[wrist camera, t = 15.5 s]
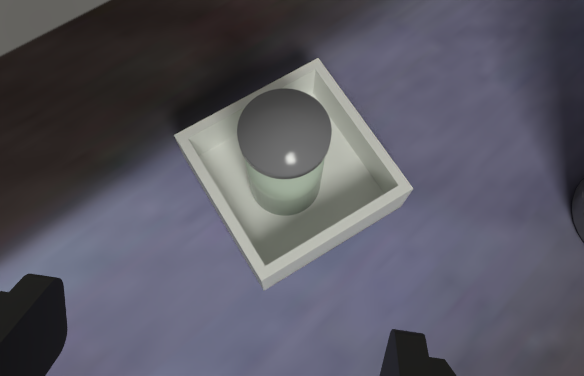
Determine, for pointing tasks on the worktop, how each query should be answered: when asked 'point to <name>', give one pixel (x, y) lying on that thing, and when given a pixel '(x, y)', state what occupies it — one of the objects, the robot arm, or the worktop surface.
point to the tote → (333, 190)
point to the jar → (284, 149)
